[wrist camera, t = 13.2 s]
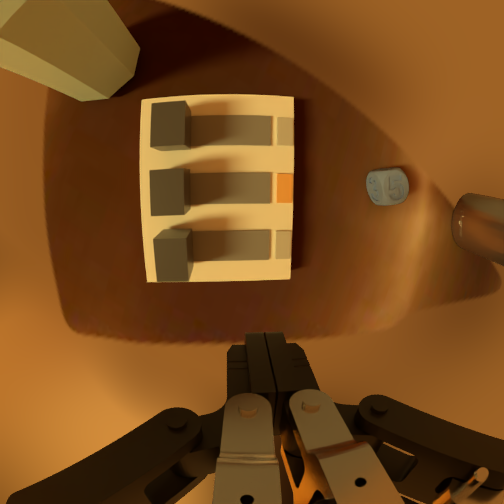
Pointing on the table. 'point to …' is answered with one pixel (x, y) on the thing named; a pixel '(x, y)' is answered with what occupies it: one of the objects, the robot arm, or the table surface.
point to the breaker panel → (229, 186)
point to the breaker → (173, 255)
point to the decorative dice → (387, 186)
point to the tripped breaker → (169, 191)
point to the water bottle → (68, 45)
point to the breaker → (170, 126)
